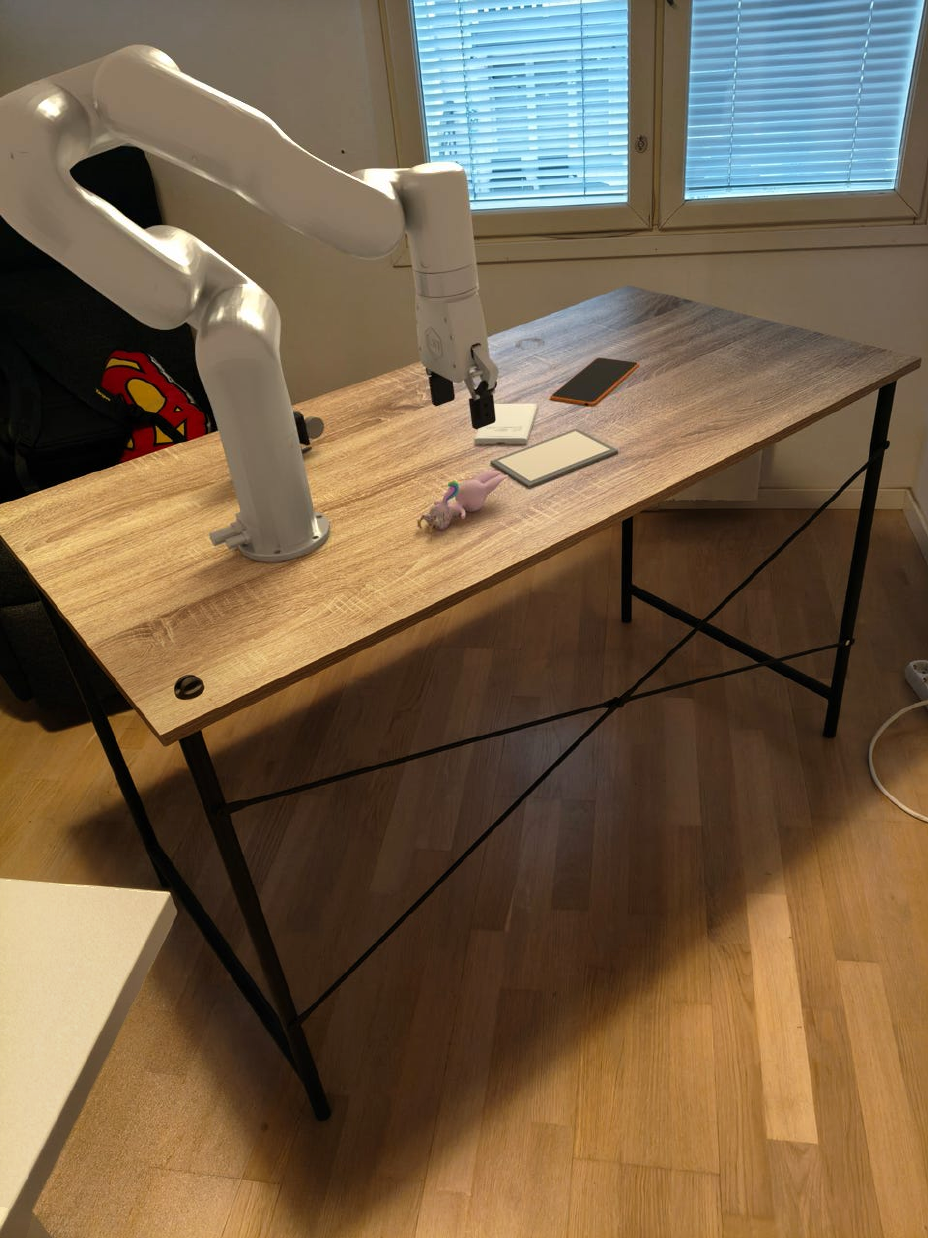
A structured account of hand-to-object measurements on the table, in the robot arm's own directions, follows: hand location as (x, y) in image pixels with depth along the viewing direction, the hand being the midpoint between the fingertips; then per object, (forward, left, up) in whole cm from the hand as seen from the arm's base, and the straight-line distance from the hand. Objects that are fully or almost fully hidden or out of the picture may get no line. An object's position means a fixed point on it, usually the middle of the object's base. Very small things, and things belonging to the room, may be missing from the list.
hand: (463, 413), depth 122 cm
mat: (+17, +5, -14) cm, 23 cm away
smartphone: (+39, +23, -15) cm, 48 cm away
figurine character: (-15, +34, -15) cm, 40 cm away
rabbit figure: (-1, +1, -15) cm, 15 cm away
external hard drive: (+19, +19, -15) cm, 31 cm away
